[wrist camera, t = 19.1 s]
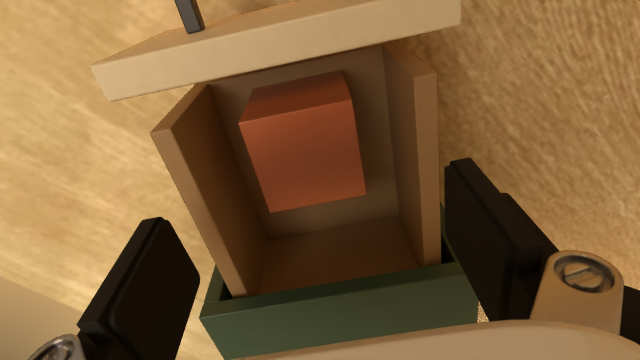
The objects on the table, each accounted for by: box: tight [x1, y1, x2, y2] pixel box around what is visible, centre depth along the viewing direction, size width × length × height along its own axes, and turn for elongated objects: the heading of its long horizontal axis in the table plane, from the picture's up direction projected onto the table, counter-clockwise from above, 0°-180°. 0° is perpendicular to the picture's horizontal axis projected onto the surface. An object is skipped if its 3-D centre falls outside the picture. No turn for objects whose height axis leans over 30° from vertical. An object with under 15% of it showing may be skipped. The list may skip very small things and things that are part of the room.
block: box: [238, 70, 367, 213], centre depth 16 cm, size 4×4×4 cm
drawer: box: [89, 0, 462, 299], centre depth 15 cm, size 20×11×7 cm, turn 11°
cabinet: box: [199, 202, 479, 360], centre depth 23 cm, size 15×13×9 cm
